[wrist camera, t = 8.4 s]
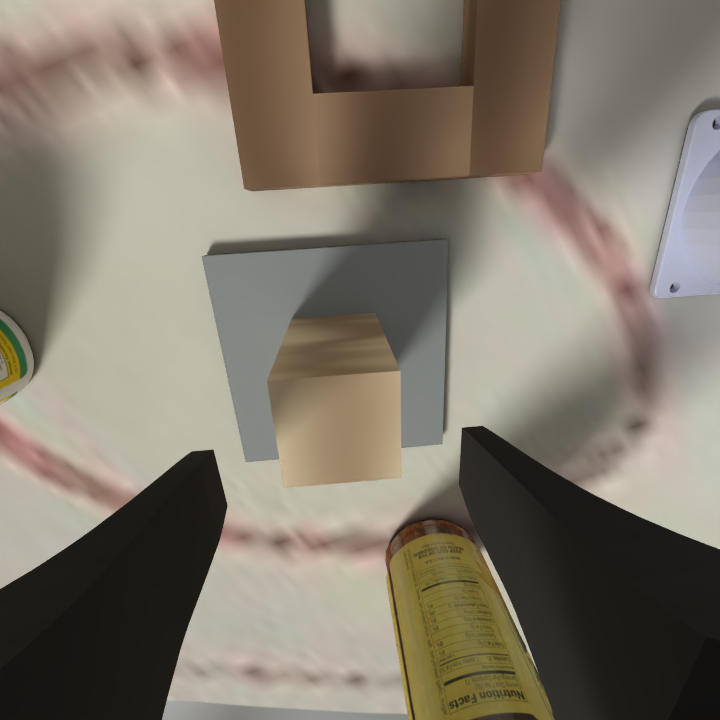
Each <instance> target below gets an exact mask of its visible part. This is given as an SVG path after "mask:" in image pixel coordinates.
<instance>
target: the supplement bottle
mask: <svg viewBox="0 0 720 720" xmlns="http://www.w3.org/2000/svg"><path fill="white" fill-rule="evenodd" d="M33 369H34V358H33V353H32V351H31V348H30V345H29V342H28V340H27V338H26V336H25V335H24V333H23V332H22V330H21V329H20V328H19V326H18V325H17V324H16V323H15V322H14V321H13V320H12V319H11V318H10V317H9V316H7V315H6V314H5V313H3V312H2V311H0V404H2V403H3V402H5V401H7V400H8V399H10V398H12V397H13V396H15V395H16V394H18V393H19V392H20V391H22V390H23V389H24V388H25V386H26V385H27V384H28V382H29V381H30V379H31V377H32V374H33Z"/></svg>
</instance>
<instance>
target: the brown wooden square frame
mask: <svg viewBox="0 0 720 720" xmlns="http://www.w3.org/2000/svg"><path fill="white" fill-rule="evenodd" d="M214 3H215V9H216V15H217V21H218V28H219V34H220V40H221V46H222V52H223V59H224V65H225V71H226V77H227V83H228V90H229V96H230V102H231V108H232V114H233V121H234V127H235V133H236V139H237V146H238V152H239V158H240V164H241V170H242V177H243V183H244V189H247V190H250V191H264V190H280V189H297V188H313V187H330V186H347V185H363V184H380V183H396V182H413V181H429V180H446V179H462V178H479V177H495V176H512V175H525V174H530V173H535V172H539V171H542V164H543V155H544V147H545V138H546V129H547V120H548V111H549V103H550V94H551V85H552V76H553V67H554V59H555V50H556V41H557V32H558V23H559V15H560V6H561V0H464V17H463V44H462V72H461V86H458V87H438V88H418V89H397V90H377V91H357V92H337V93H316V94H313V82H312V71H311V60H310V49H309V37H308V26H307V15H306V4H305V0H214Z"/></svg>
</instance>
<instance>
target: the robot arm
mask: <svg viewBox="0 0 720 720" xmlns="http://www.w3.org/2000/svg"><path fill="white" fill-rule="evenodd" d="M714 119H715V121H716V124H715V127H714V128H713V127H712V123H713V121H714ZM672 284H673V287H672V289H671V290H670V287H671V285H672ZM650 293H651V295H652V296H654V297H658V298H671V297H684V296H697V295H710V294H720V109H715V110H707V111H704V112H700V113H698V114H696V115H695V116H694V117H693V118H692V120H691V121H690V124H689V126H688V130H687V135H686V139H685V143H684V147H683V151H682V156H681V160H680V164H679V168H678V172H677V177H676V181H675V185H674V189H673V193H672V198H671V202H670V206H669V210H668V214H667V218H666V223H665V227H664V231H663V235H662V239H661V244H660V248H659V252H658V256H657V260H656V265H655V269H654V273H653V277H652V281H651V286H650ZM459 485H460V488H461V491H462V494H463V497H464V501H465V503H466V506H467V509H468V512H469V515H470V517H471V519H472V521H473V523H474V526H475V528H476V530H477V532H478V534H479V536H480V538H481V540H482V542H483V544H484V546H485V548H486V550H487V552H488V554H489V556H490V559H491V561H492V563H493V565H494V567H495V569H496V571H497V573H498V575H499V577H500V579H501V581H502V583H503V585H504V587H505V589H506V591H507V593H508V596H509V598H510V600H511V602H512V605H513V607H514V609H515V612H516V614H517V617H518V619H519V622H520V625H521V627H522V630H523V633H524V635H525V638H526V640H527V643H528V646H529V648H530V651H531V653H532V656H533V659H534V662H535V664H536V667H537V670H538V673H539V676H540V678H541V681H542V684H543V687H544V689H545V692H546V695H547V698H548V700H549V703H550V706H551V709H552V712H553V715H554V718H555V720H720V549H717V548H714V547H712V546H709V545H706V544H704V543H701V542H699V541H696V540H693V539H691V538H688V537H686V536H683V535H681V534H678V533H676V532H673V531H671V530H669V529H666V528H664V527H662V526H659V525H657V524H655V523H652V522H650V521H648V520H645V519H643V518H641V517H639V516H636V515H634V514H632V513H630V512H628V511H625V510H623V509H621V508H619V507H617V506H615V505H613V504H611V503H609V502H607V501H605V500H603V499H601V498H599V497H597V496H595V495H593V494H592V493H590V492H588V491H586V490H584V489H582V488H580V487H579V486H577V485H575V484H573V483H572V482H570V481H568V480H566V479H565V478H563V477H561V476H560V475H558V474H556V473H555V472H553V471H551V470H550V469H548V468H546V467H545V466H543V465H542V464H540V463H538V462H537V461H535V460H534V459H532V458H531V457H529V456H528V455H526V454H525V453H523V452H521V451H520V450H518V449H517V448H515V447H514V446H513V445H511V444H510V443H508V442H507V441H505V440H504V439H502V438H501V437H499V436H498V435H496V434H495V433H493V432H492V431H490V430H488V429H487V428H485V427H483V426H477V427H465V428H462V438H461V456H460V475H459ZM226 510H227V502H226V498H225V494H224V490H223V486H222V482H221V478H220V474H219V470H218V466H217V462H216V458H215V454H214V450H204V451H193V452H191V453H189V454H188V455H186V456H185V457H184V458H182V459H181V460H180V461H179V462H177V463H176V464H175V465H174V466H172V467H171V468H170V469H169V470H168V471H166V472H165V473H164V474H163V475H161V476H160V477H159V478H158V479H157V480H155V481H154V482H153V483H152V484H150V485H149V486H148V487H147V488H146V489H144V490H143V491H142V492H141V493H139V494H138V495H137V496H136V497H134V498H133V499H132V500H131V501H129V502H128V503H127V504H126V505H124V506H123V507H122V508H120V509H119V510H118V511H116V512H115V513H114V514H112V515H111V516H110V517H108V518H107V519H106V520H104V521H103V522H102V523H100V524H99V525H98V526H97V527H95V528H94V529H93V530H91V531H90V532H88V533H87V534H86V535H84V536H83V537H81V538H80V539H79V540H77V541H76V542H74V543H73V544H71V545H70V546H68V547H67V548H65V549H64V550H62V551H61V552H59V553H58V554H56V555H55V556H53V557H52V558H50V559H49V560H47V561H46V562H44V563H43V564H41V565H39V566H38V567H36V568H35V569H33V570H32V571H30V572H28V573H27V574H25V575H23V576H22V577H20V578H18V579H16V580H15V581H13V582H11V583H10V584H8V585H6V586H5V587H3V588H1V589H0V720H162V716H163V713H164V708H165V705H166V701H167V697H168V693H169V689H170V686H171V682H172V678H173V675H174V671H175V667H176V664H177V660H178V656H179V653H180V649H181V646H182V643H183V640H184V637H185V634H186V631H187V627H188V625H189V622H190V619H191V617H192V614H193V611H194V608H195V606H196V603H197V600H198V598H199V595H200V592H201V590H202V587H203V584H204V582H205V579H206V576H207V574H208V571H209V568H210V565H211V563H212V560H213V557H214V554H215V552H216V549H217V546H218V543H219V540H220V536H221V532H222V528H223V524H224V519H225V515H226Z"/></svg>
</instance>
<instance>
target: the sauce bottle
mask: <svg viewBox="0 0 720 720" xmlns="http://www.w3.org/2000/svg"><path fill="white" fill-rule="evenodd" d="M386 566H387V571H388V573H387V588H388V594H389V601H390V608H391V614H392V620H393V627H394V633H395V639H396V645H397V651H398V657H399V663H400V669H401V676H402V682H403V688H404V695H405V701H406V707H407V713H408V719H409V720H555V718H554V715H553V712H552V709H551V706H550V703H549V700H548V698H547V695H546V692H545V689H544V687H543V684H542V681H541V678H540V676H539V674H538V672H537V670H536V668H535V666H534V664H533V661H532V659H531V657H530V655H529V653H528V651H527V649H526V646H525V644H524V642H523V640H522V638H521V636H520V634H519V632H518V630H517V628H516V626H515V623H514V621H513V619H512V617H511V615H510V613H509V610H508V608H507V606H506V604H505V602H504V600H503V597H502V595H501V593H500V591H499V589H498V587H497V585H496V582H495V580H494V578H493V576H492V574H491V572H490V570H489V568H488V566H487V564H486V561H485V559H484V557H483V555H482V553H481V551H480V550H479V549H478V547H477V546H476V545H475V542H474V540H473V538H472V537H471V536H470V535H469V534H468V533H467V532H466V531H465V530H464V529H463V528H461V527H458V526H457V525H456V524H454V523H452V522H450V521H444V520H426V521H418V522H416V523H414V524H411V525H408V526H406V527H405V528H404V529H403V530H402V531H400V533H398V534H397V536H396V537H395V538H394V539H393V541H392V542H391V544H390V545H389V546H388V549H387V551H386Z"/></svg>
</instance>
